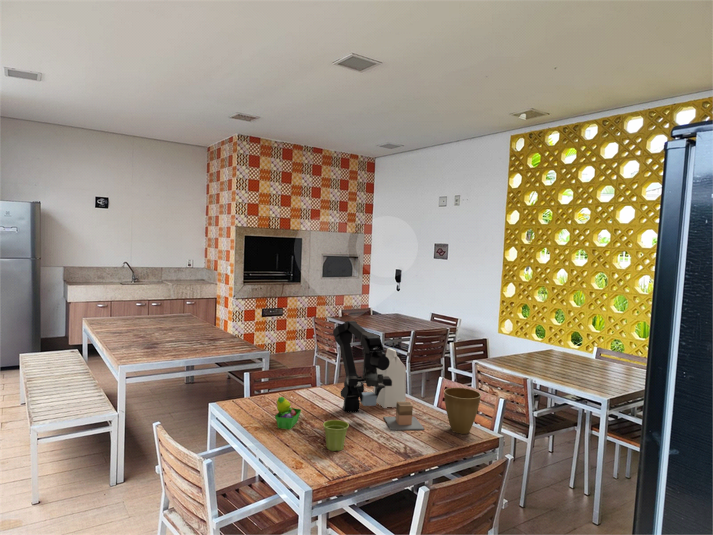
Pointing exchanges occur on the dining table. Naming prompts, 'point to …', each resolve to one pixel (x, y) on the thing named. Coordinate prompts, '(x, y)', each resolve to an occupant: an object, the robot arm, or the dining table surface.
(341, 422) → the plant pot
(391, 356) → the milk
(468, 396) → the plant pot
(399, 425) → the tower base
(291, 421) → the fruit basket
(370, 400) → the slate block
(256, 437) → the dining table surface
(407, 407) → the walnut block
